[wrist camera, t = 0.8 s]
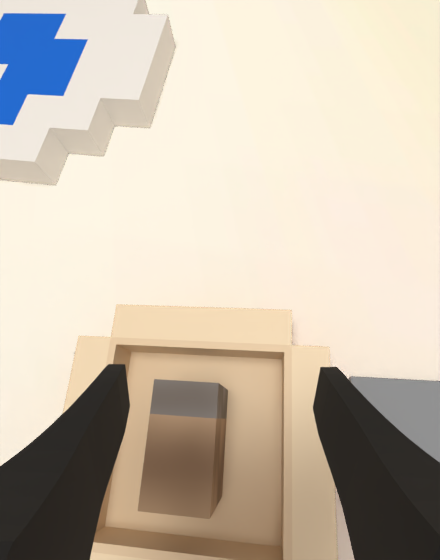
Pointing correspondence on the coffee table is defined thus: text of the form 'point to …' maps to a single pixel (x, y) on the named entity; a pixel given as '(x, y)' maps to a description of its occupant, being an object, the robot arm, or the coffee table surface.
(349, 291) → the coffee table surface
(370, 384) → the slate mat
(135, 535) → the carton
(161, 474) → the walnut block
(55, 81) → the pixel art tile
